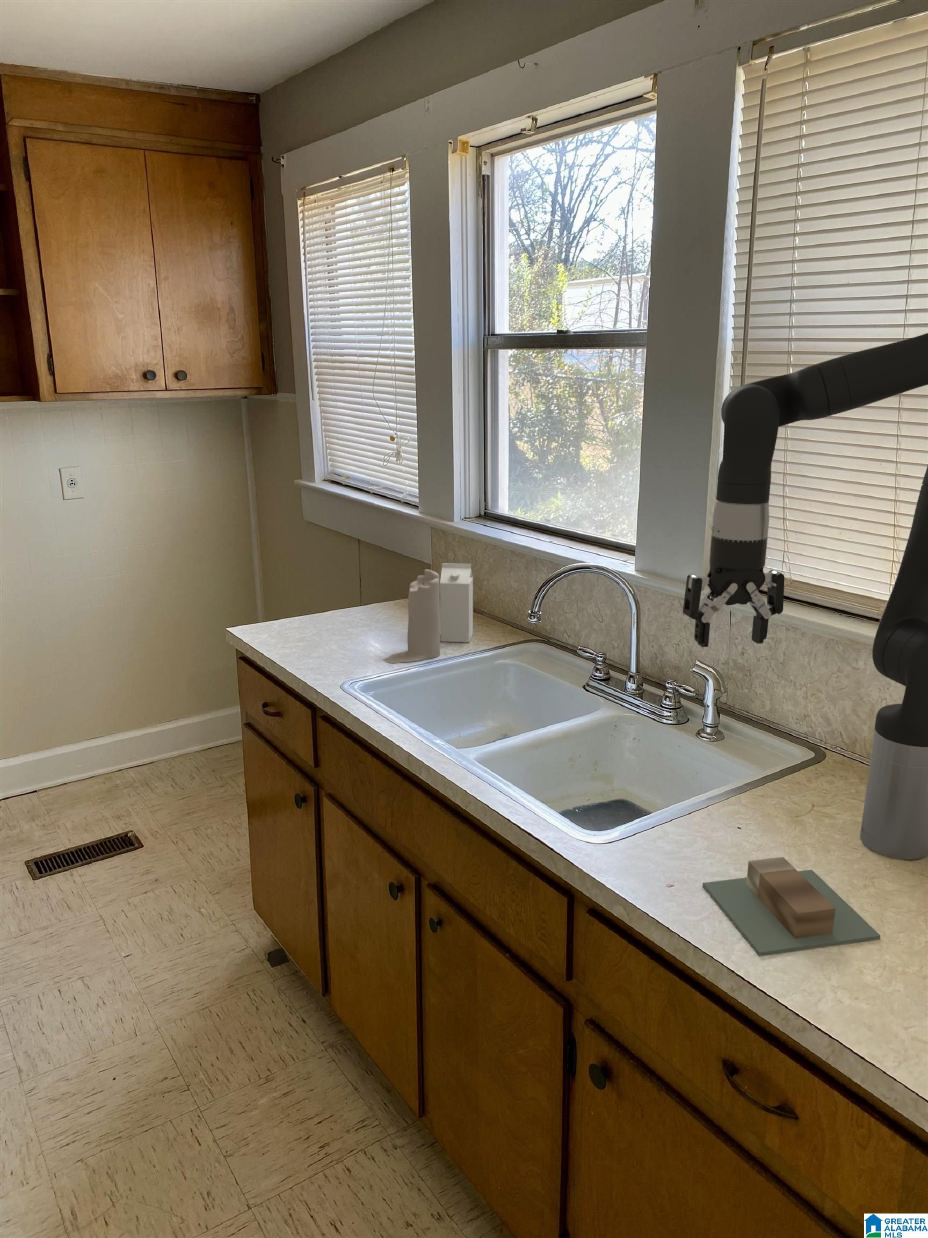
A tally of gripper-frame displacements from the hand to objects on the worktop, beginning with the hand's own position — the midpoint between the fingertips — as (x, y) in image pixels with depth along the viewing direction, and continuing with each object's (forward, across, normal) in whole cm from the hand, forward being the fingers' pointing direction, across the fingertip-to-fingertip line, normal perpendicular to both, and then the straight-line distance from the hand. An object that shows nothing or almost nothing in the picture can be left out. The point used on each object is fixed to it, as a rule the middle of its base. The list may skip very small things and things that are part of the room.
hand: (730, 644), depth 132 cm
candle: (+28, -34, +86) cm, 97 cm away
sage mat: (+28, -2, -24) cm, 37 cm away
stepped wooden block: (+28, -2, -24) cm, 37 cm away
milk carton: (+28, -21, +98) cm, 104 cm away
